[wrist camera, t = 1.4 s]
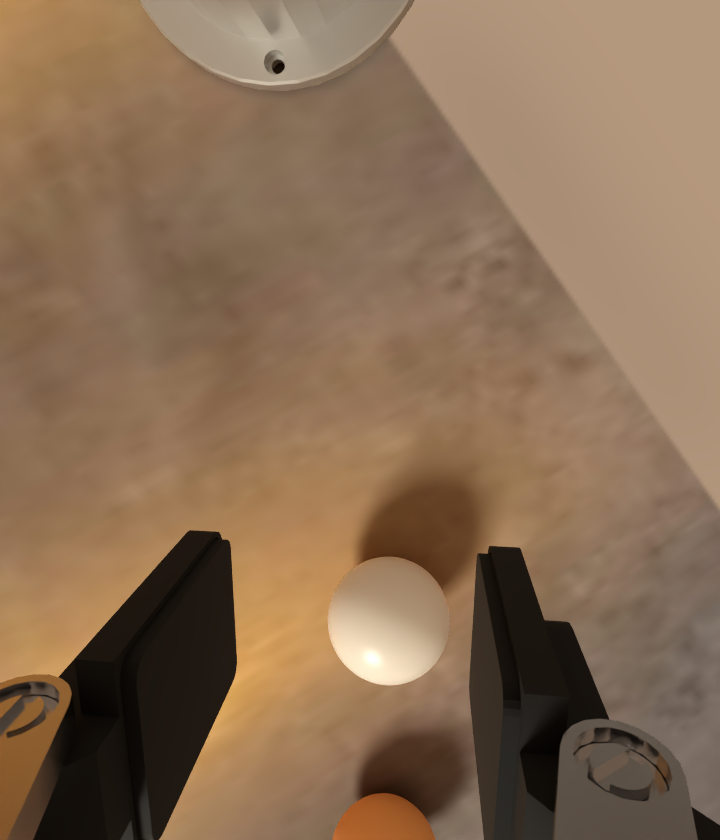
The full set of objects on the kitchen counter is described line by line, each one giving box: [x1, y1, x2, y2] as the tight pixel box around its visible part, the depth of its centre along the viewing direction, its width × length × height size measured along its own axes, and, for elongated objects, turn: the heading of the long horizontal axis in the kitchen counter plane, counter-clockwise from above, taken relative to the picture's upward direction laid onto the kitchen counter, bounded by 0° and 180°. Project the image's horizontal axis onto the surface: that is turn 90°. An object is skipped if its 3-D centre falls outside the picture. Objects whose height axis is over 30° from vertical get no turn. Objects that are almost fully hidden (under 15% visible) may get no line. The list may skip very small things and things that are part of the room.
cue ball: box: [328, 557, 450, 685], centre depth 27 cm, size 6×6×6 cm
